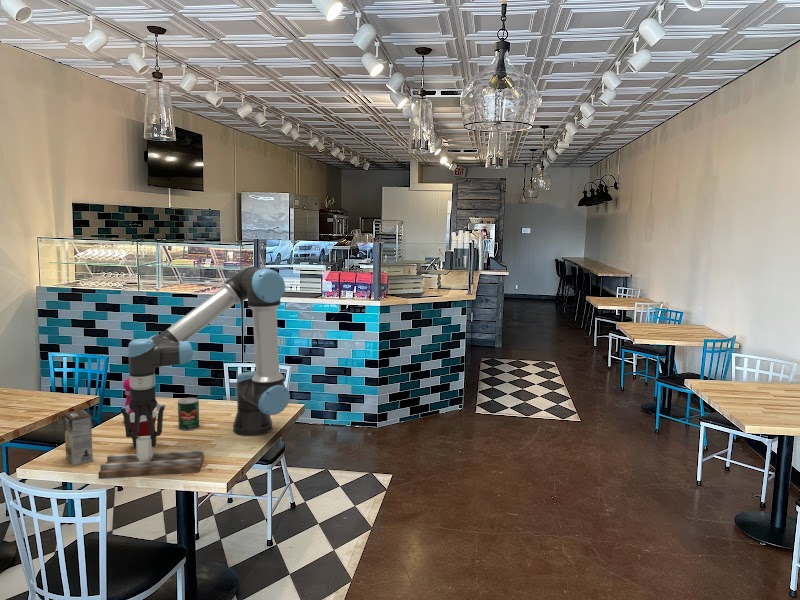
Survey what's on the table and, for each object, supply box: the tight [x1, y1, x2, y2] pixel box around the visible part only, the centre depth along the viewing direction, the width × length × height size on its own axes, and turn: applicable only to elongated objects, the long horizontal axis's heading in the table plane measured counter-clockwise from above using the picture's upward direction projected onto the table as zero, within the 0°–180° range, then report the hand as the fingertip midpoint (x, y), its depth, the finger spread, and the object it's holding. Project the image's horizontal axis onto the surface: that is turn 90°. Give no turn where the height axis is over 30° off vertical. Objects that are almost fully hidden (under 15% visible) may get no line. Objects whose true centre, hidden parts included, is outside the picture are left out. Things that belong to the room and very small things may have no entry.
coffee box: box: [63, 408, 94, 466], centre depth 193 cm, size 9×6×16 cm
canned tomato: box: [177, 397, 200, 432], centre depth 227 cm, size 8×8×11 cm
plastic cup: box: [130, 409, 158, 450], centre depth 206 cm, size 11×11×12 cm
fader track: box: [98, 450, 205, 480], centre depth 188 cm, size 30×12×4 cm, turn 101°
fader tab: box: [138, 436, 152, 462], centre depth 187 cm, size 3×4×8 cm
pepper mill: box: [122, 377, 134, 414], centre depth 231 cm, size 7×7×20 cm
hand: (145, 456), depth 188 cm, fingers closed on fader tab, 3 cm apart
